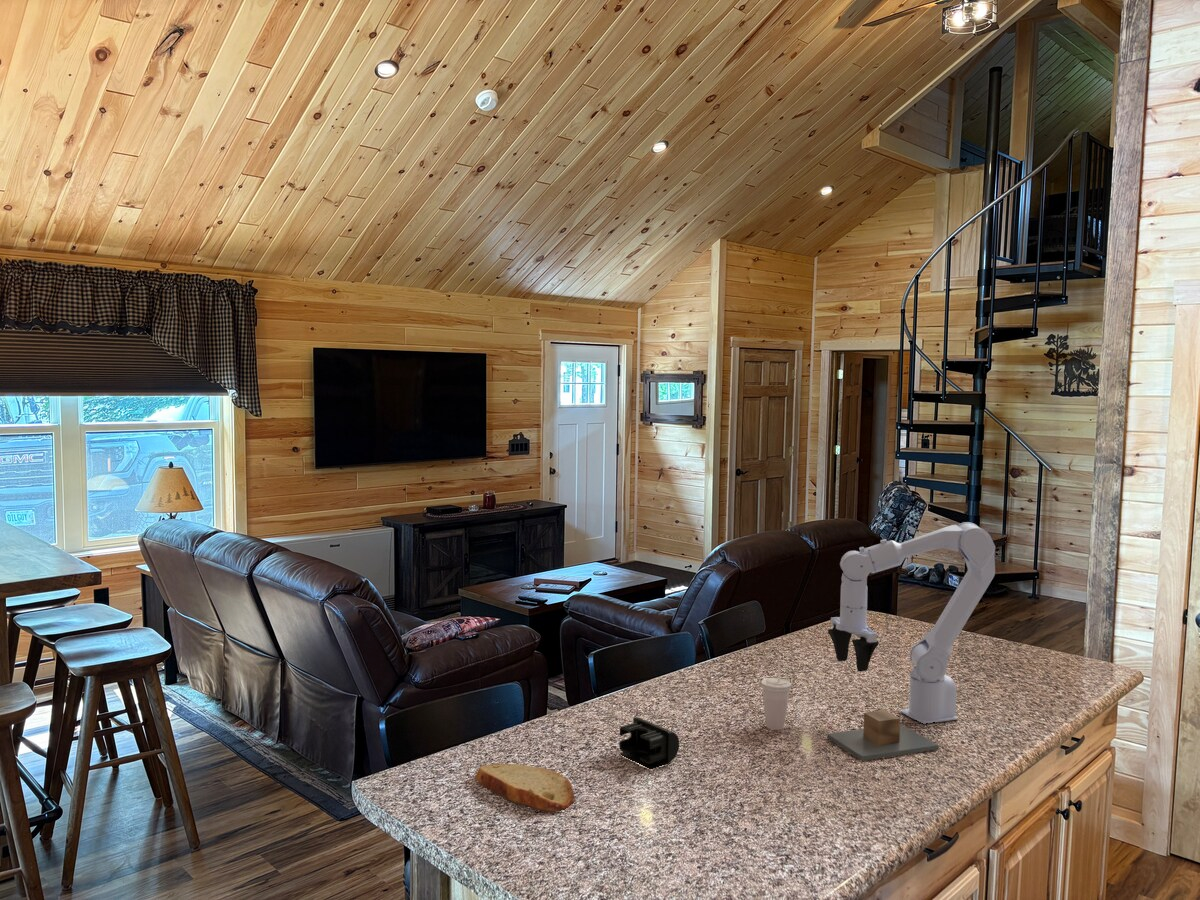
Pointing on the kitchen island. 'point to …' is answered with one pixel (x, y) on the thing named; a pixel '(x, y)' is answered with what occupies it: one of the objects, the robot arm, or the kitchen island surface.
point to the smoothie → (775, 700)
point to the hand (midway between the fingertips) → (851, 665)
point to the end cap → (648, 743)
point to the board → (870, 750)
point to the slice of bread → (527, 786)
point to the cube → (881, 727)
